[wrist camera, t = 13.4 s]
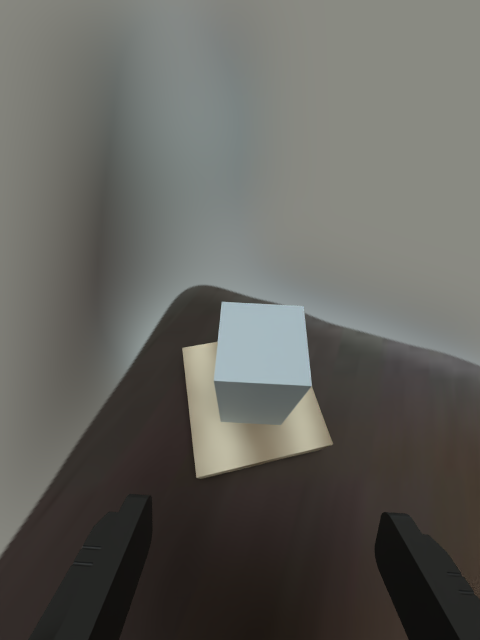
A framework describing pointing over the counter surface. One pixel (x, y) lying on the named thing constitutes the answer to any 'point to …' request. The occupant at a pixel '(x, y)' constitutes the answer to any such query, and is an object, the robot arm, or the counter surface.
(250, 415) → the grey rectangular block
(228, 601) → the counter surface
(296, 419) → the beech block
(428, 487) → the counter surface
